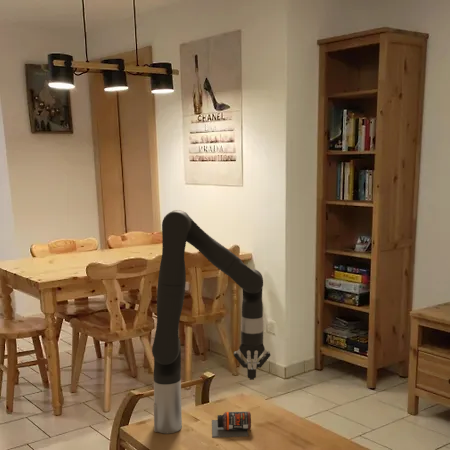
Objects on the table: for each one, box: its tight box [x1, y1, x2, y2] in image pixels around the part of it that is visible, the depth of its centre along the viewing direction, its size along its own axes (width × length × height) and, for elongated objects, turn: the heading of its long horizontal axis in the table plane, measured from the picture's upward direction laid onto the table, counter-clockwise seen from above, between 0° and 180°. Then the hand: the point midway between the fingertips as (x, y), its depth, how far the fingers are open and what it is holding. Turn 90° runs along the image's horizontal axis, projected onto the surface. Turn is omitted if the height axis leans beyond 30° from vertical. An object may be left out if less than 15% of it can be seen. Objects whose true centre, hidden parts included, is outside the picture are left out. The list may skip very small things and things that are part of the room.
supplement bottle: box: [216, 411, 252, 431], centre depth 191 cm, size 6×6×11 cm
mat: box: [211, 419, 249, 439], centre depth 192 cm, size 12×12×1 cm
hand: (251, 378), depth 191 cm, fingers closed
